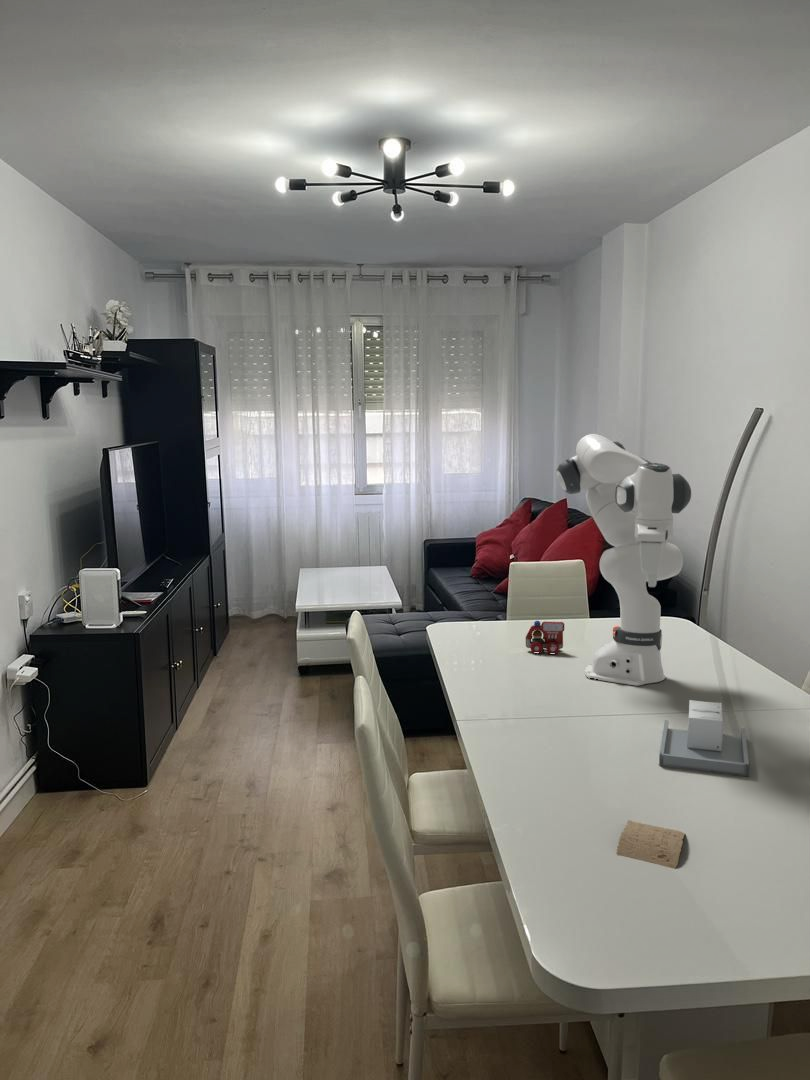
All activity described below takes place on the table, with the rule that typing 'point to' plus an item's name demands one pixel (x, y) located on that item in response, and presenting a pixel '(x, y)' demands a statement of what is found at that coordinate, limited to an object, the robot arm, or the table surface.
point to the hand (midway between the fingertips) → (652, 586)
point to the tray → (704, 754)
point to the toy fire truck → (545, 637)
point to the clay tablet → (651, 844)
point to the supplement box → (705, 726)
